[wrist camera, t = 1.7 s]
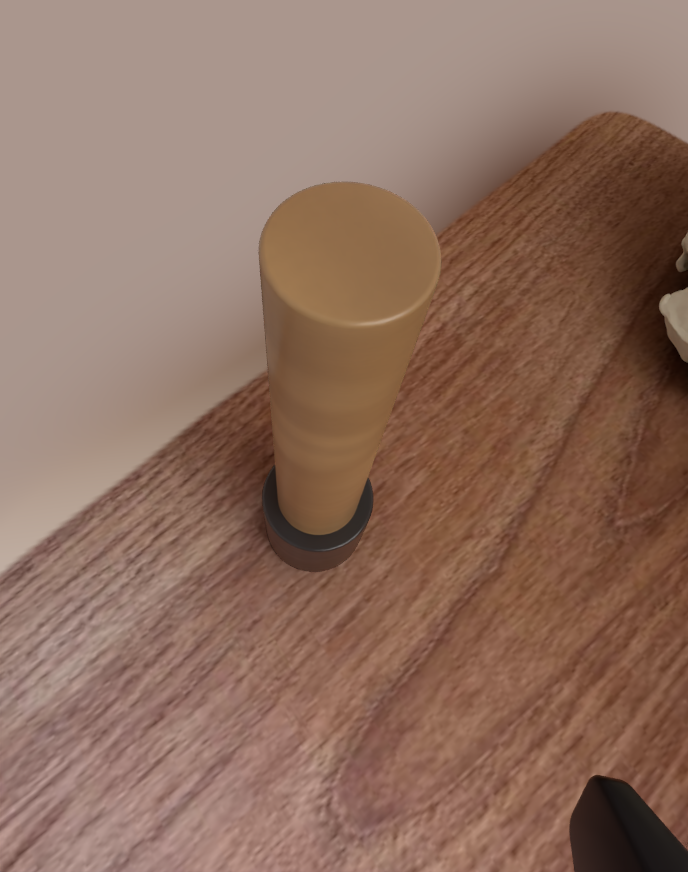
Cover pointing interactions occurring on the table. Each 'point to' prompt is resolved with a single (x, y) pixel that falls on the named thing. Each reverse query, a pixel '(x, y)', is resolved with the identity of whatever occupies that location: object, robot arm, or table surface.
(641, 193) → the table surface
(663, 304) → the animal skull
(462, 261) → the table surface
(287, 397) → the wooden furniture leg
